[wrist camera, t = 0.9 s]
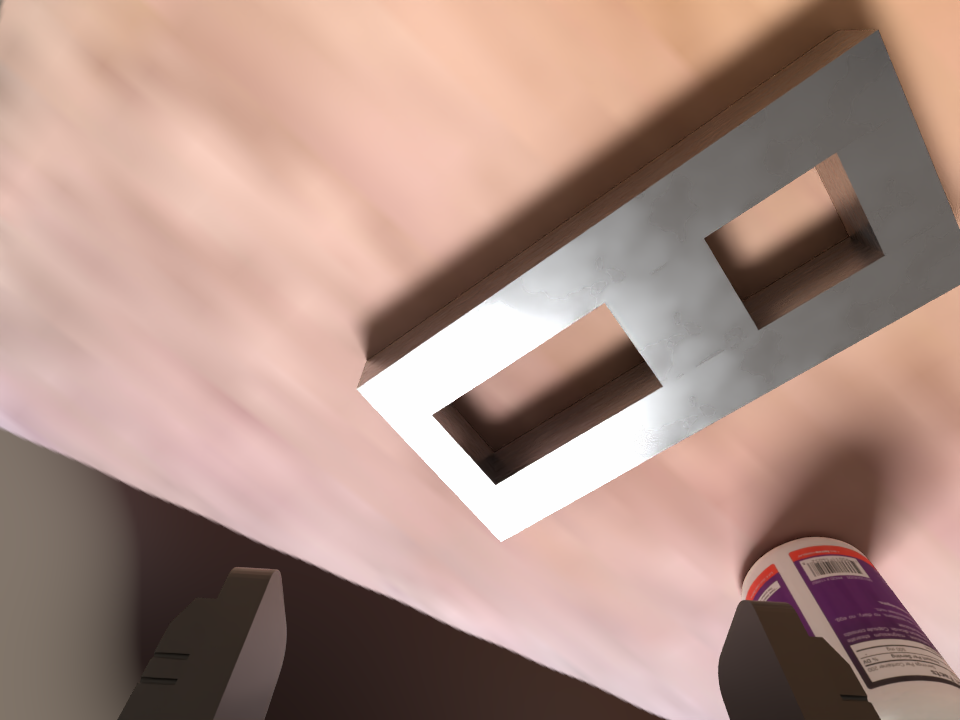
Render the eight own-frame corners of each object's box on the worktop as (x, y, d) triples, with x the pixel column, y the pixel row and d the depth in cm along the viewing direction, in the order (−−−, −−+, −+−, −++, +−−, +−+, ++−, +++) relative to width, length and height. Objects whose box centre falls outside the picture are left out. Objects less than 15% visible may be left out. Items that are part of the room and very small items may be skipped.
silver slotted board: (838, 30, 27) (878, 29, 24) (934, 254, 31) (978, 274, 28) (366, 361, 34) (356, 389, 31) (499, 506, 38) (501, 541, 35)
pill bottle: (775, 639, 43) (901, 895, 30) (711, 572, 40) (819, 823, 27) (888, 581, 41) (1077, 832, 28) (828, 506, 38) (1007, 746, 25)
